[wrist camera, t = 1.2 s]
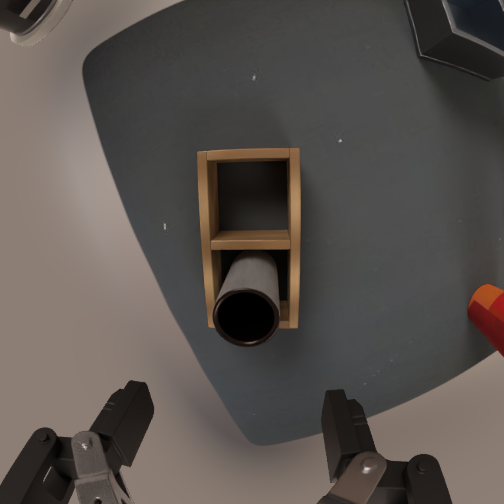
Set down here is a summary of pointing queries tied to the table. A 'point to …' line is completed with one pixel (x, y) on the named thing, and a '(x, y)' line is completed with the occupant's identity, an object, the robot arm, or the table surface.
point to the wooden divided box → (249, 239)
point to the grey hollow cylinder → (249, 300)
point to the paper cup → (489, 314)
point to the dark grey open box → (460, 34)
